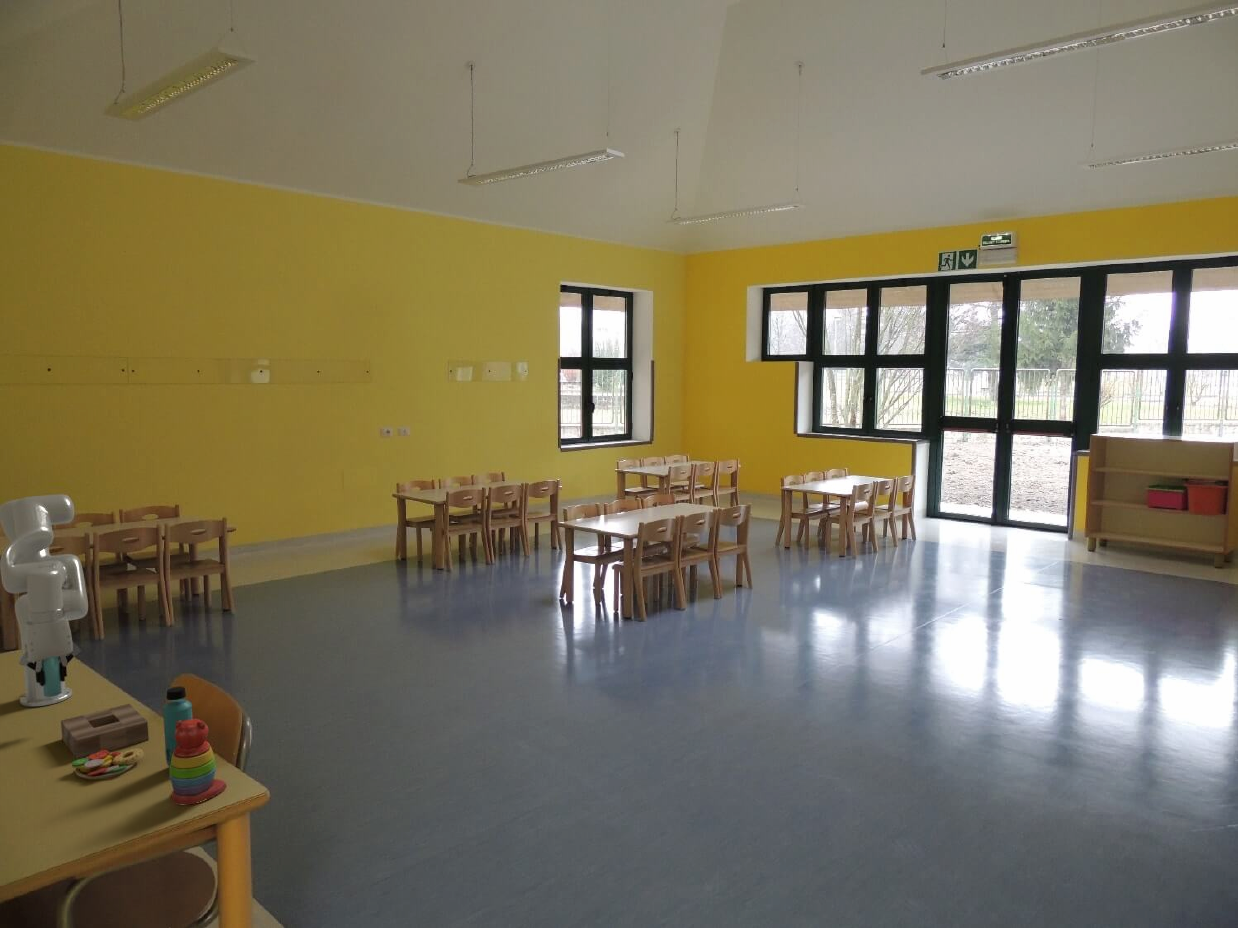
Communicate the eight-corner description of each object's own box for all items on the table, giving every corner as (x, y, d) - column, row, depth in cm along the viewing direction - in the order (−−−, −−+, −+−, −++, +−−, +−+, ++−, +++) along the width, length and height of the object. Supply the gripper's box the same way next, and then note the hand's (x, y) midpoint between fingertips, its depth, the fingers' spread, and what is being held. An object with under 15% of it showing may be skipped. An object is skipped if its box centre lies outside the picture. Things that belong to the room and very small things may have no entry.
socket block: (62, 738, 226) (60, 720, 225) (130, 721, 237) (129, 703, 236) (77, 759, 214) (76, 740, 213) (148, 739, 225) (147, 721, 225)
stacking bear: (230, 785, 202) (226, 711, 200) (205, 807, 192) (200, 730, 190) (186, 782, 203) (181, 709, 201) (159, 804, 193) (154, 728, 191)
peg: (42, 693, 230) (38, 649, 228) (59, 689, 233) (56, 646, 231) (45, 697, 227) (42, 654, 225) (63, 693, 230) (60, 650, 228)
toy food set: (151, 760, 214) (150, 748, 214) (106, 786, 202) (105, 772, 201) (107, 754, 218) (106, 741, 217) (61, 778, 205) (60, 765, 205)
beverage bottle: (202, 764, 212) (197, 685, 209) (178, 776, 206) (173, 695, 203) (183, 759, 214) (179, 681, 212) (159, 770, 208) (154, 690, 206)
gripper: (79, 605, 235) (84, 670, 238) (5, 618, 224) (11, 686, 226) (87, 612, 230) (91, 678, 233) (11, 625, 218) (16, 695, 221)
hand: (51, 681), depth 229 cm, fingers closed on peg, 4 cm apart
